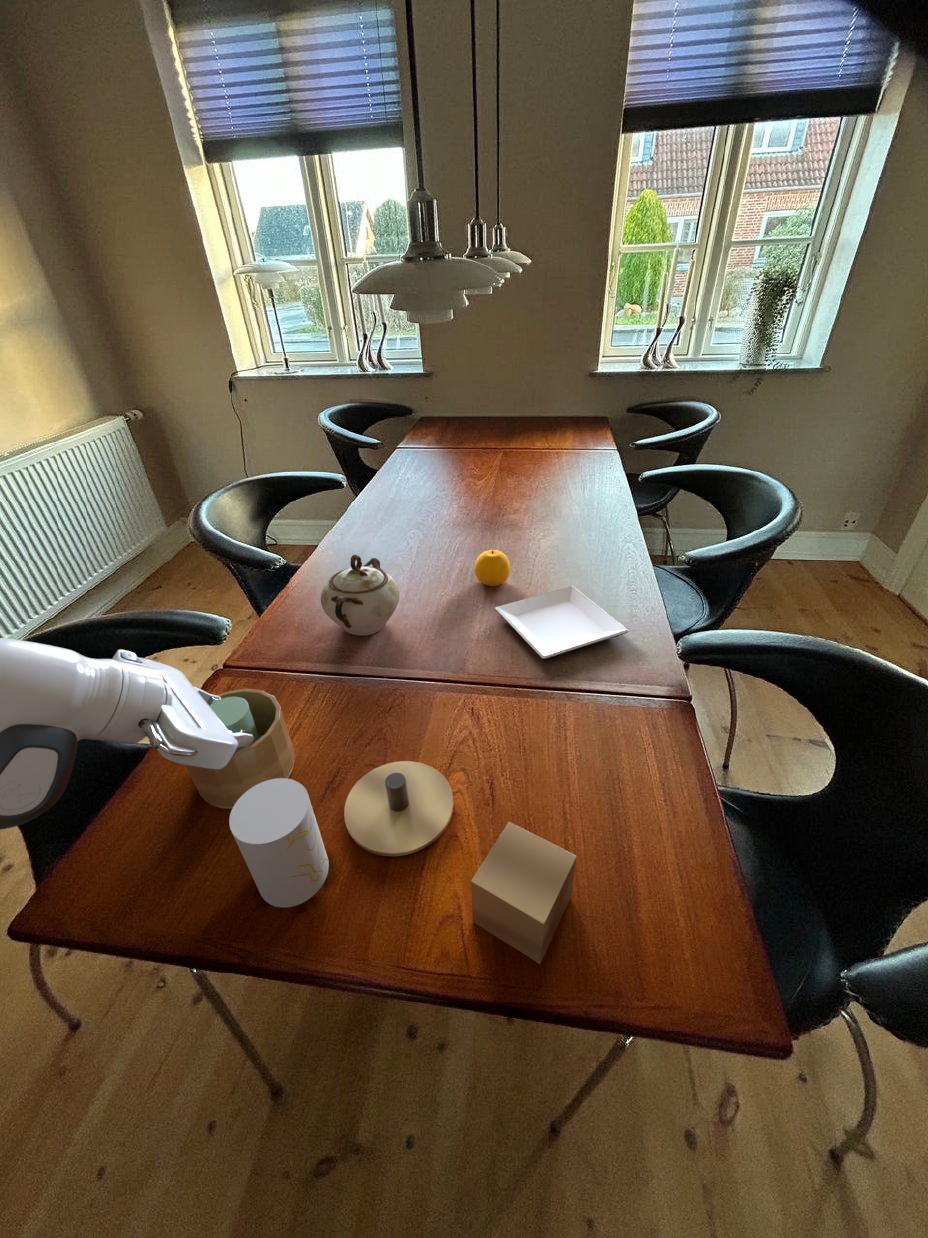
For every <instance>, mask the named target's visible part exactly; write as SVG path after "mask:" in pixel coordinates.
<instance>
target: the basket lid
mask: <svg viewBox="0 0 928 1238" xmlns="http://www.w3.org/2000/svg"><path fill="white" fill-rule="evenodd" d="M453 813H454V795H453V791H452V787H451V786H450V783H449V781H448V780H447V779H446V777H445V776H444V775H443V774H442V773H441V772H439V771H438V770H437V769H435V768H434V767H432V766H430V765H428V764H425V763H422V762H417V761H411V760H404V761H403V760H399V761H391V762H389V763H384V764H382V765H379V766H378V767H376V768H373V769H372V770H370V771H368V772H367V773H366V774H363V776H362V777H361V778H360V779H359V780H357V782H356V783H354V785H353V786H352V788H351V789H350V791H349V793H348V794H347V797H346V799H345V803H344V808H343V819H344V825H345V827H346V830H347V832H348V834H349V836H350V837H351V839H352V840H353V841H354V842H355V843H356V845H358V846H359V847H360V848H362V849H364V850H365V851H367V852H368V853H372V854H375V855H377V856H383V857H401V856H408V855H411V854H414V853H417V852H419V851H421V850H423V849H425V848H427V847H428V846H430V845H432V844H433V843H434V842H436V840H438V838H439V837H440V836H442V834H443V833H444V832H445V830H446V829H447V827H448V826H449V823H450V822H451V819H452V817H453Z"/></svg>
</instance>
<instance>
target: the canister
mask: <svg viewBox="0 0 928 1238" xmlns="http://www.w3.org/2000/svg"><path fill="white" fill-rule="evenodd" d="M209 707H210V708H211V709H212V710H213V712H214V713H215V714H216V715H217V717H218V718H219V719H220V720H221V721H222V723H223V724H224V725H225V726H226V728H227V729H228V730H230V731H232V732H233V733H237V731H238V729H242V730H248V731H249V732H250V733H251V734H252V735H253V736H254V740H253V742H252V743H251V745H252V744H253V743H255V742H256V741H257V740H258V739H260V736H259V733H258V730H257V727H256V725H255V722H254V719H253V716H252V713H251V711H250V708H249V705H248V703H247V701H246V700H245V699H243V698H240V697H227V698H223V699H220V700H218V701H216V702H214V703H212V704H211V705H210V706H209ZM242 749H244V748H241V747H237V749H236V751H235V752H237V751H239V750H242ZM235 752H234V753H235Z"/></svg>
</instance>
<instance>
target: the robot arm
mask: <svg viewBox="0 0 928 1238" xmlns="http://www.w3.org/2000/svg"><path fill="white" fill-rule="evenodd" d="M217 695H218V694H217ZM217 695H216V694H212V693H209V692H207V691H205V690H203V689H201V688H198V687H197V686H194V685H193V684H192V683H191V681H190V680H189V679H188V678H187V677H186V675H185V674H184V673H183V672H182V671H181V670H179V669H177V668H175V667H173V666H171V665H168V664H165V663H161V662H159V661H156V660H151V659H148V658H146V657H145V658H144V657H139V656H138V655H137V654H136V653H135V652H133V651H129V650H125V649H121V648H120V649H117V651H116V652H115V653H114V655H113V656H112V658H91V657H88V656H85V655H82V654H80V653H79V652H76V651H75V650H72V649H69V648H64V647H60V646H56V645H55V646H54V645H51V644H46V643H39V642H34V641H28V640H21V639H13V638H4V637H3V638H2V637H0V830H7V829H11V828H15V827H18V826H21V825H24V824H26V823H29V822H31V821H33V820H35V819H37V818H39V817H40V816H42V815H44V813H47V812H48V811H49V810H50V809H51V808H53V806H55V804H57V803H58V801H59V800H60V799H61V797H62V796H63V795H64V793H65V792H66V790H67V787H68V784H69V781H70V778H71V775H72V772H73V768H74V765H75V761H76V756H77V752H78V743H79V741H81V740H90V741H91V740H92V741H100V742H111V743H119V744H125V745H126V744H127V745H128V744H129V745H134V744H138V743H140V742H141V741H143V740H144V739H145V738H146V737H147V738H148V741H149V744H150V745H151V746H152V747H153V748H154V749H156V750H157V751H158V753H159V754H160V755H161V756H162V757H163V758H164V759H166V760H167V761H170V762H173V763H175V764H179V765H180V764H181V765H183V766H184V765H185V766H186V765H189V766H195V767H201V768H207V769H216V770H219V769H222V768H224V767H225V766H227V764H228V763H229V761H230V760H231V758H232V756H233V754H234V752H235V751H236V749H237V747H241V748H246V747H248V746H250V745H251V743H252V742H253V740H254V736H253V735H252V734H251V733H250V732H249V731H248V730H242V729H238V731H237V733H233V732H232V731H230V730H228V729H227V728H226V726H225V725H224V724H223V723H222V721H221V720H220V719H219V718H218V717H217V715H216V714H215V713H214V712H213V710H212V709H211V708H210V707H209V706H210V705H211V704H212V703H214V702H216V701H218V700H220V699H221V698H220V697H219V696H217Z"/></svg>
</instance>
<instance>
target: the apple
mask: <svg viewBox="0 0 928 1238" xmlns="http://www.w3.org/2000/svg"><path fill="white" fill-rule="evenodd" d="M473 571H474V574H475V575H474V576H475V577H476V579H477V580H478V581H479V582H480V583H481V584H483V585H485V586H489V587H495V586H496V587H497V586H500V585H502V584H503V583H505V582H506V581H507V580H508V578H509V577H510V574H511V562H510V560H509V558H508V556H507V555H506V554H505V553H503V552H502V551H500V550H497V549H488V550H485V551H483V552H482V553H480V554H479V556H478V557H477V558H476V559H475V562H474V570H473Z"/></svg>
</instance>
